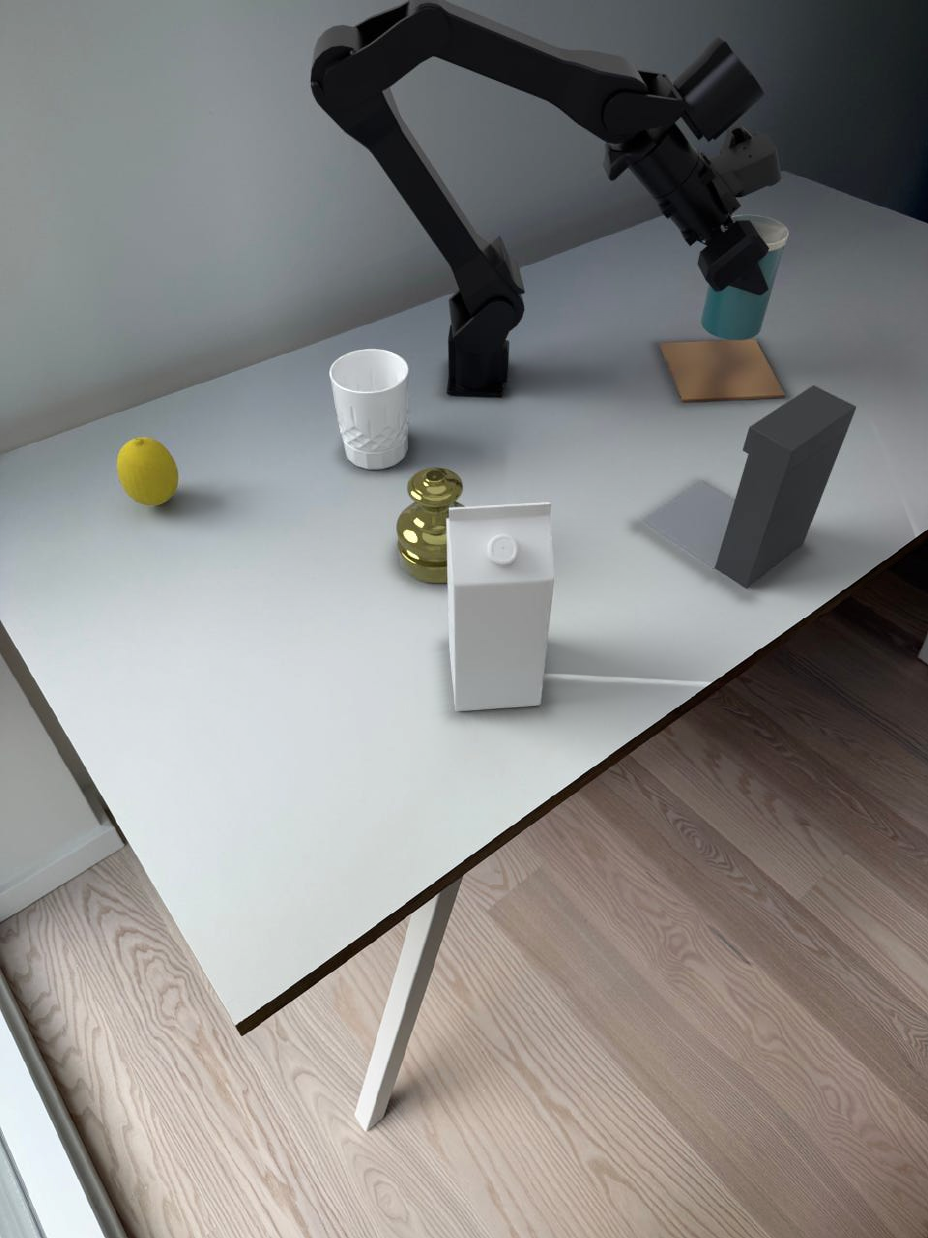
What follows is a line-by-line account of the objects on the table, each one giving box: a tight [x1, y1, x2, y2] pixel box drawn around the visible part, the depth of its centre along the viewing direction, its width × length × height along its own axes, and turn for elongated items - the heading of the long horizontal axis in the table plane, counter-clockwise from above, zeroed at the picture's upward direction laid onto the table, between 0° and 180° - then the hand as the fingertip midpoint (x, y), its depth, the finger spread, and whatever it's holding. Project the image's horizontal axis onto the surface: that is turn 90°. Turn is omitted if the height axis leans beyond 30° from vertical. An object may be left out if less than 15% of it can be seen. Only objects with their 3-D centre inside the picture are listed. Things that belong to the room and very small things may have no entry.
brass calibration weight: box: [396, 466, 466, 584], centre depth 82 cm, size 7×7×10 cm
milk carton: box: [446, 501, 555, 712], centre depth 69 cm, size 7×7×19 cm
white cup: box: [328, 348, 410, 470], centre depth 93 cm, size 8×8×10 cm
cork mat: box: [659, 338, 786, 403], centre depth 106 cm, size 12×12×1 cm
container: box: [700, 214, 790, 340], centre depth 98 cm, size 7×7×11 cm
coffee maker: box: [641, 385, 857, 589], centre depth 81 cm, size 12×10×16 cm
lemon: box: [116, 436, 179, 507], centre depth 88 cm, size 6×6×8 cm
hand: (754, 275), depth 98 cm, fingers closed on container, 7 cm apart
